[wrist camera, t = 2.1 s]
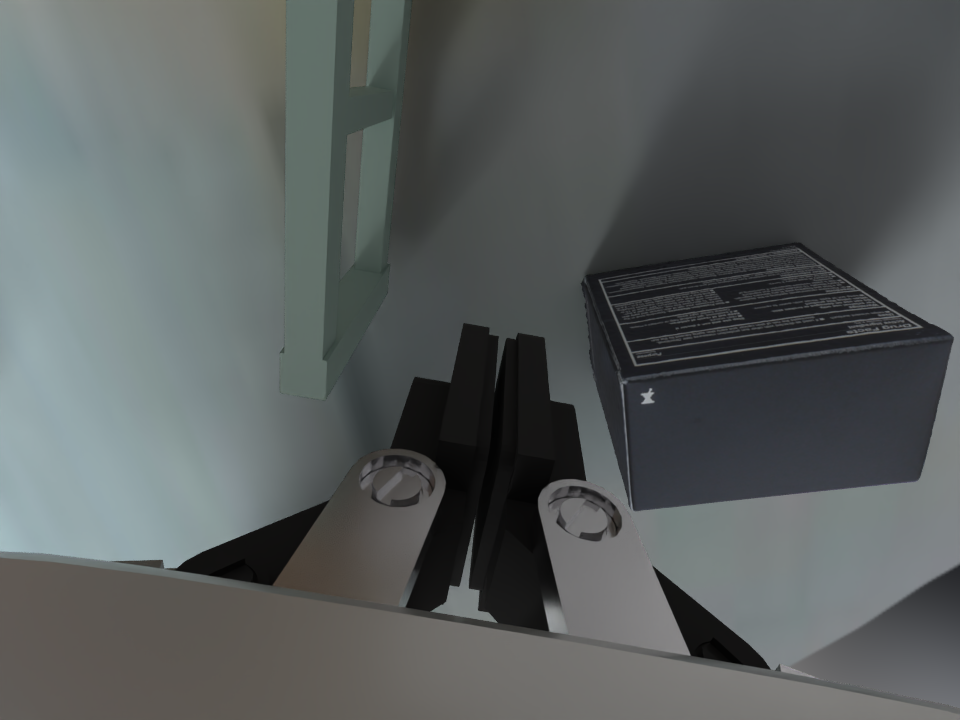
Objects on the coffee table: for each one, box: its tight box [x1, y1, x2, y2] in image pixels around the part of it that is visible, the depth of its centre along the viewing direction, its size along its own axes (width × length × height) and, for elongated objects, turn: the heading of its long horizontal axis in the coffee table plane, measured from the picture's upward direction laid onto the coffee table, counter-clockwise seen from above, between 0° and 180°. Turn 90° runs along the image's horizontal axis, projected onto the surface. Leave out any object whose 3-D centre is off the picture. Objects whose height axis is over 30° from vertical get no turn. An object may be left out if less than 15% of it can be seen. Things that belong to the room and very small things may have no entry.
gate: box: [280, 0, 412, 401], centre depth 18 cm, size 18×2×11 cm, turn 171°
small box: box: [581, 243, 954, 511], centre depth 24 cm, size 11×6×10 cm, turn 101°
